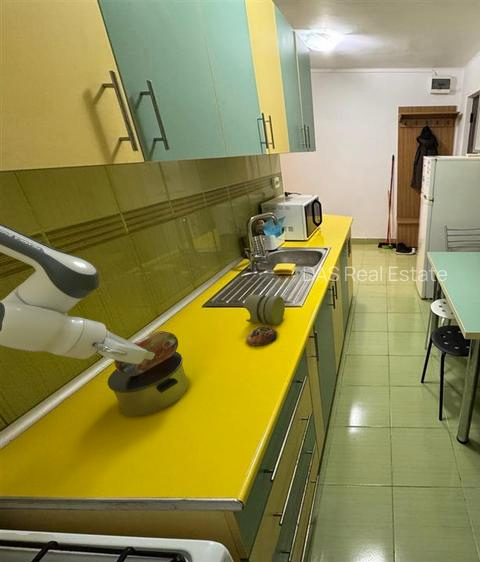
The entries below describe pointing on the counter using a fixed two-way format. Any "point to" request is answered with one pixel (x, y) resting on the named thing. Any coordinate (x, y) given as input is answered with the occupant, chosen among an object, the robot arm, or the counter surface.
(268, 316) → the piston
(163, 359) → the tin
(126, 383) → the stockpot
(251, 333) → the bread roll
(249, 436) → the counter surface
